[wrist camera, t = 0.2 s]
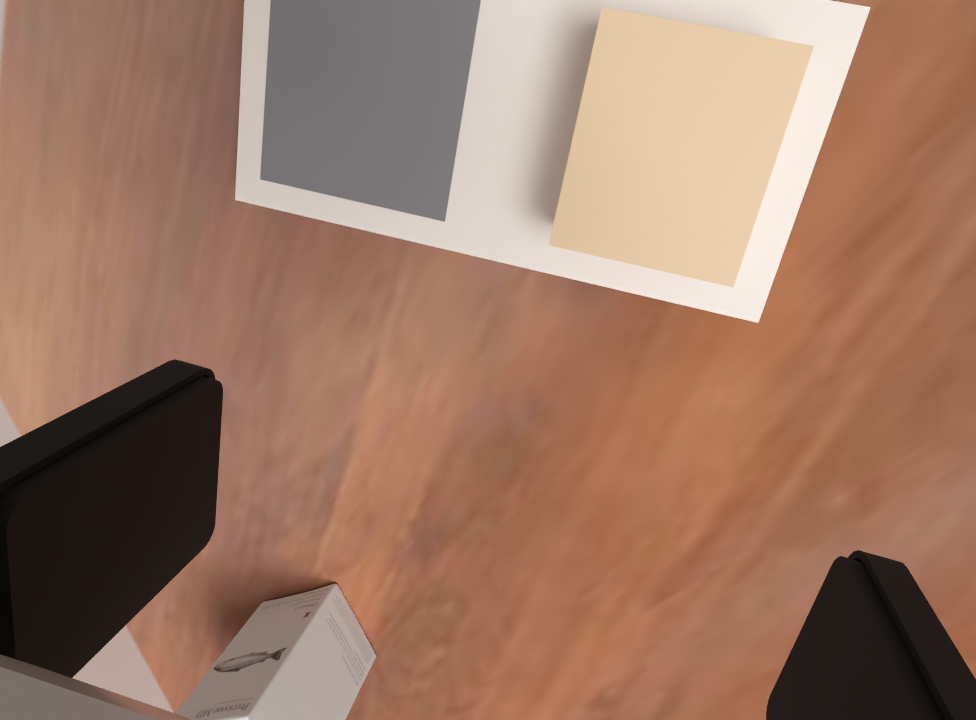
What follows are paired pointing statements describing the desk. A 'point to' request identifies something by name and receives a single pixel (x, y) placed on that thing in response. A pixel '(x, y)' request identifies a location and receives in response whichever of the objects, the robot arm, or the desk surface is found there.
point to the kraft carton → (675, 143)
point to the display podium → (492, 124)
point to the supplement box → (288, 663)
